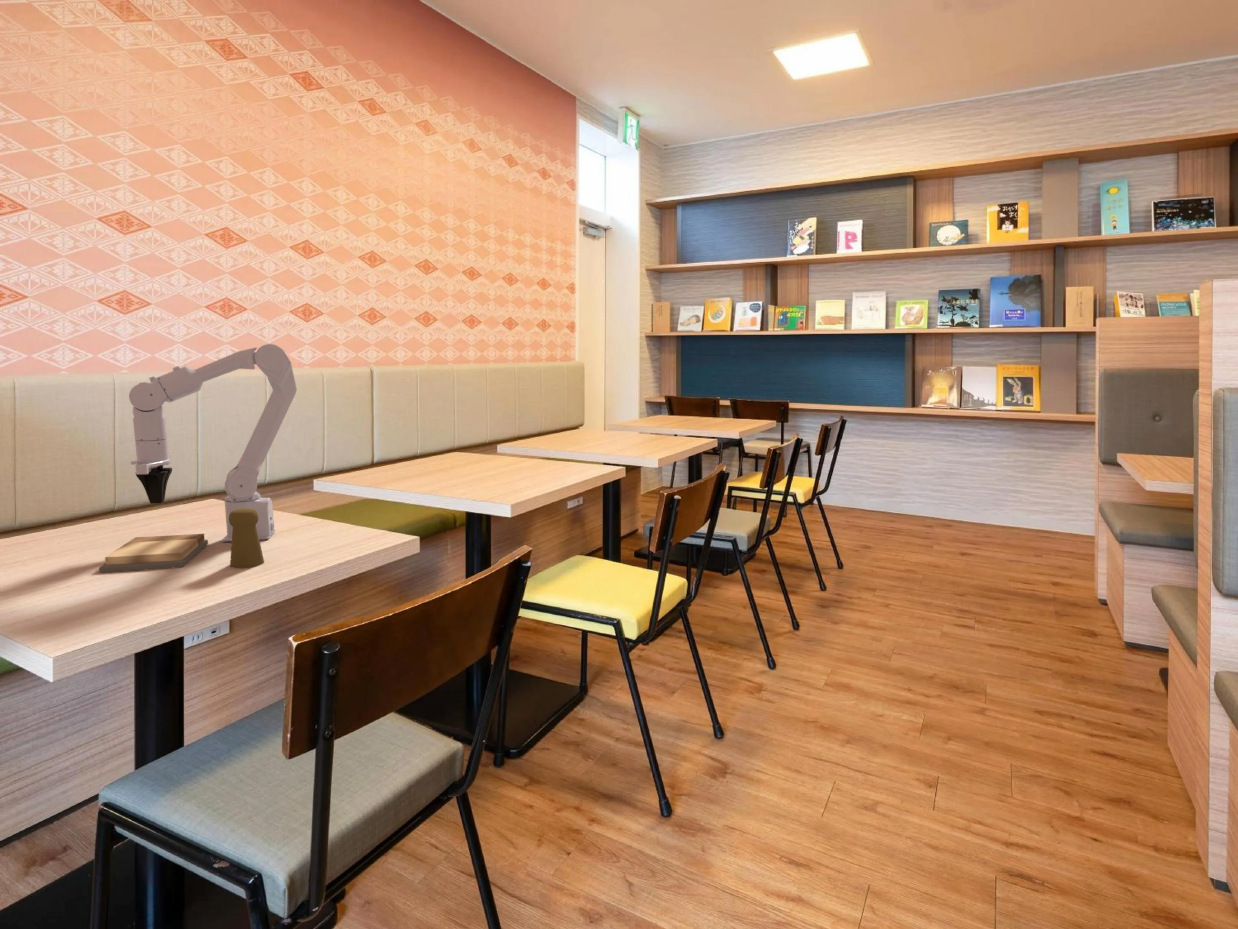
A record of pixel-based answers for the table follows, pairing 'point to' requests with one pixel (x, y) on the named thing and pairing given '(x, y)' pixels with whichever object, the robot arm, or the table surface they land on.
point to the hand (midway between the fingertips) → (157, 502)
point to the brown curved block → (169, 538)
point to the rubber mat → (153, 564)
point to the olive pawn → (245, 539)
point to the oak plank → (152, 551)
